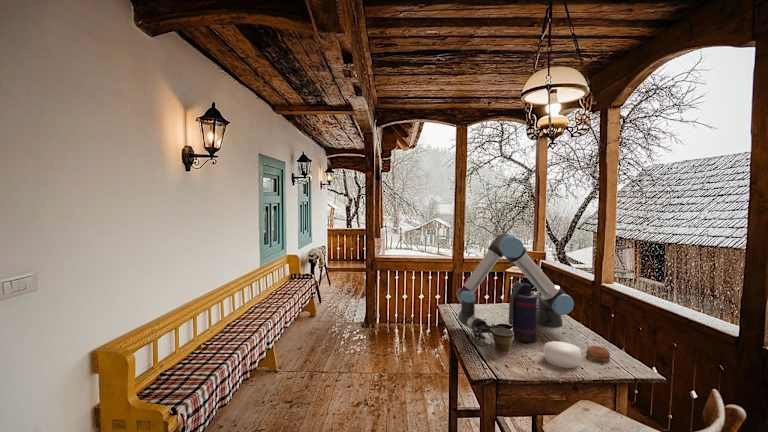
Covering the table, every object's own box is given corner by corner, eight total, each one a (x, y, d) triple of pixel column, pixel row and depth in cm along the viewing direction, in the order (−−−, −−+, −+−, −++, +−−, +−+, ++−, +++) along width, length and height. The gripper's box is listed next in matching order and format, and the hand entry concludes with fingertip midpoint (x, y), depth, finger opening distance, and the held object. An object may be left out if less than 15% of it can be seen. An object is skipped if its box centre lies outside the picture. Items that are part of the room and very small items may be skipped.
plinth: (562, 351, 180) (562, 339, 180) (588, 364, 166) (588, 351, 165) (537, 356, 175) (537, 343, 175) (562, 370, 161) (562, 356, 161)
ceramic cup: (517, 351, 181) (517, 331, 181) (508, 357, 174) (508, 336, 173) (492, 344, 190) (492, 325, 189) (483, 350, 183) (483, 330, 182)
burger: (614, 362, 168) (614, 352, 168) (593, 362, 168) (593, 352, 168) (602, 353, 178) (602, 344, 178) (582, 353, 178) (582, 344, 178)
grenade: (530, 335, 202) (530, 280, 201) (540, 343, 190) (541, 285, 189) (505, 335, 201) (505, 281, 200) (514, 344, 190) (514, 286, 188)
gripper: (496, 329, 204) (522, 343, 184) (456, 334, 196) (479, 350, 176) (496, 315, 204) (522, 328, 184) (456, 320, 196) (479, 334, 176)
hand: (501, 339), depth 180 cm, fingers open, 13 cm apart
